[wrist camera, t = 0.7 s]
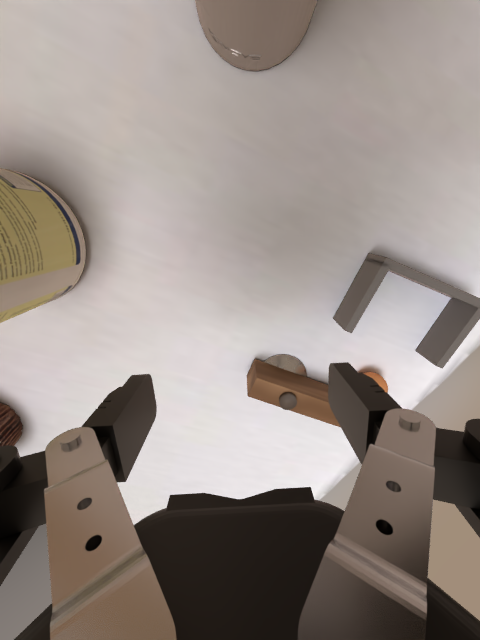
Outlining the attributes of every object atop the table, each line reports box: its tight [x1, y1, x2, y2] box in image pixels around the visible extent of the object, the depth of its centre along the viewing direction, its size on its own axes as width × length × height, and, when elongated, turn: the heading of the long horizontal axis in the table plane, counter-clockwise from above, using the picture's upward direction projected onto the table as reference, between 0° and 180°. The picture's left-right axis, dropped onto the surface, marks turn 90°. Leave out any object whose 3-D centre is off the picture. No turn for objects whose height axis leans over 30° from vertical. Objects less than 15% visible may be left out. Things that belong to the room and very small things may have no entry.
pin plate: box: [264, 354, 307, 377], centre depth 32 cm, size 6×6×1 cm
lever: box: [247, 359, 341, 427], centre depth 30 cm, size 2×16×5 cm, turn 68°
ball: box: [363, 372, 388, 392], centre depth 31 cm, size 3×3×3 cm
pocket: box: [333, 253, 480, 368], centre depth 28 cm, size 8×12×4 cm, turn 68°
